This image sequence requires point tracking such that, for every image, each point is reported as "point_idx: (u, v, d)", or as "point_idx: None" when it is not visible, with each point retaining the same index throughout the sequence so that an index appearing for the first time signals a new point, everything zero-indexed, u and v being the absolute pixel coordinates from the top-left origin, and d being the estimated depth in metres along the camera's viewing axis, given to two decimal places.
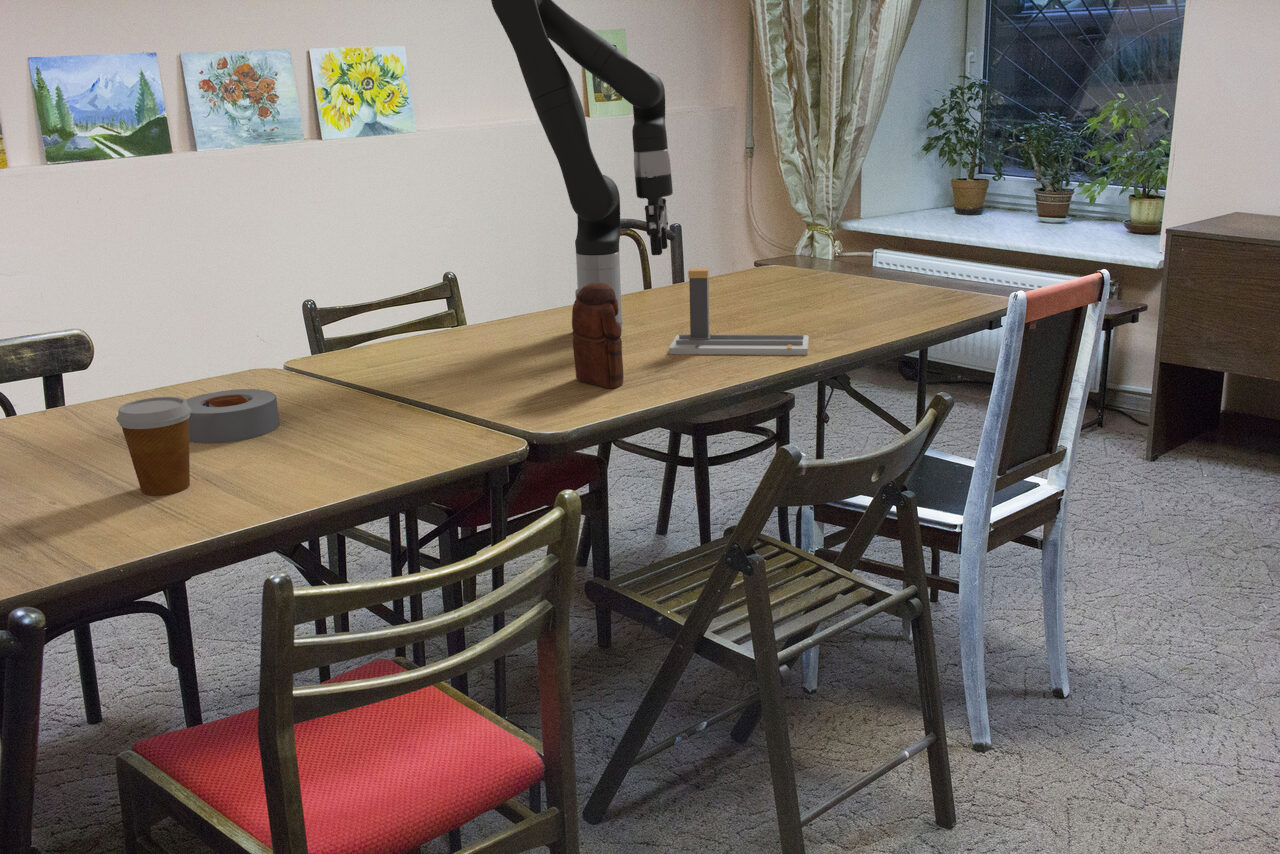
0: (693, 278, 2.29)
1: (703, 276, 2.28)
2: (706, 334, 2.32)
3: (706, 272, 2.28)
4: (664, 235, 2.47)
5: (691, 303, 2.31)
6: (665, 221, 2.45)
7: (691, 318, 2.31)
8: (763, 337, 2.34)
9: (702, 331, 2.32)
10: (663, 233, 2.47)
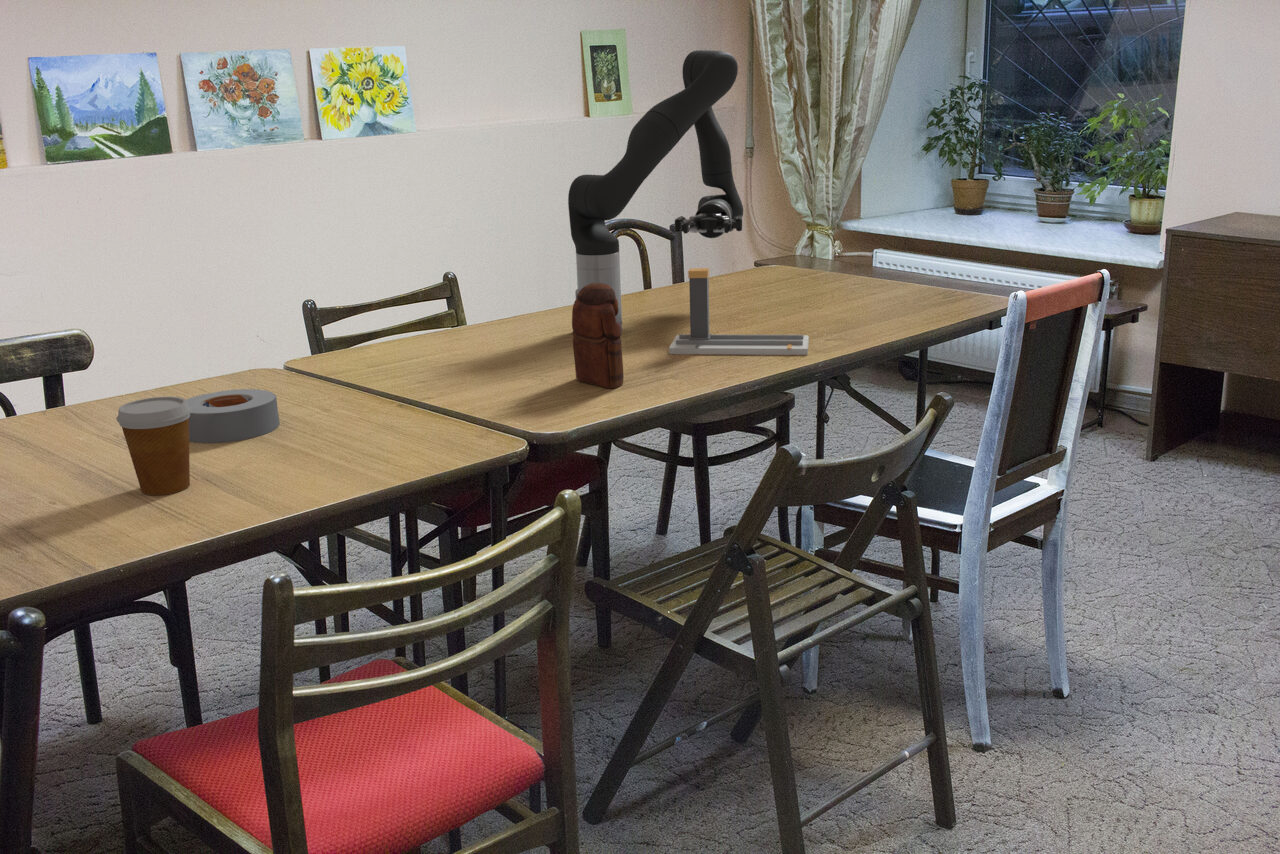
0: (693, 278, 2.29)
1: (703, 276, 2.28)
2: (706, 334, 2.32)
3: (706, 272, 2.28)
4: (688, 230, 2.45)
5: (691, 303, 2.31)
6: (695, 231, 2.48)
7: (691, 318, 2.31)
8: (763, 337, 2.34)
9: (702, 331, 2.32)
10: (688, 229, 2.45)
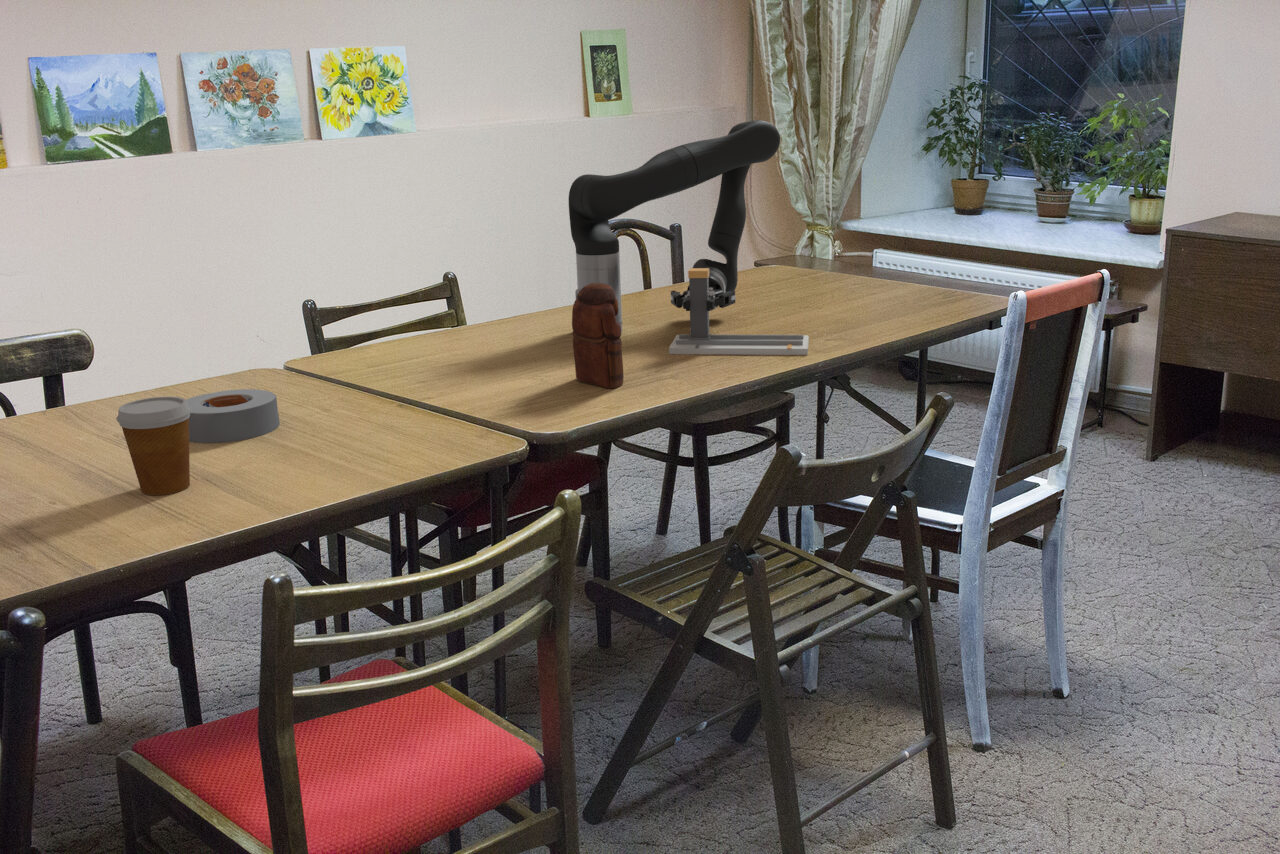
0: (693, 278, 2.29)
1: (703, 276, 2.28)
2: (706, 334, 2.32)
3: (706, 272, 2.28)
4: None
5: (691, 303, 2.31)
6: None
7: (691, 318, 2.31)
8: (763, 337, 2.34)
9: (702, 331, 2.32)
10: None
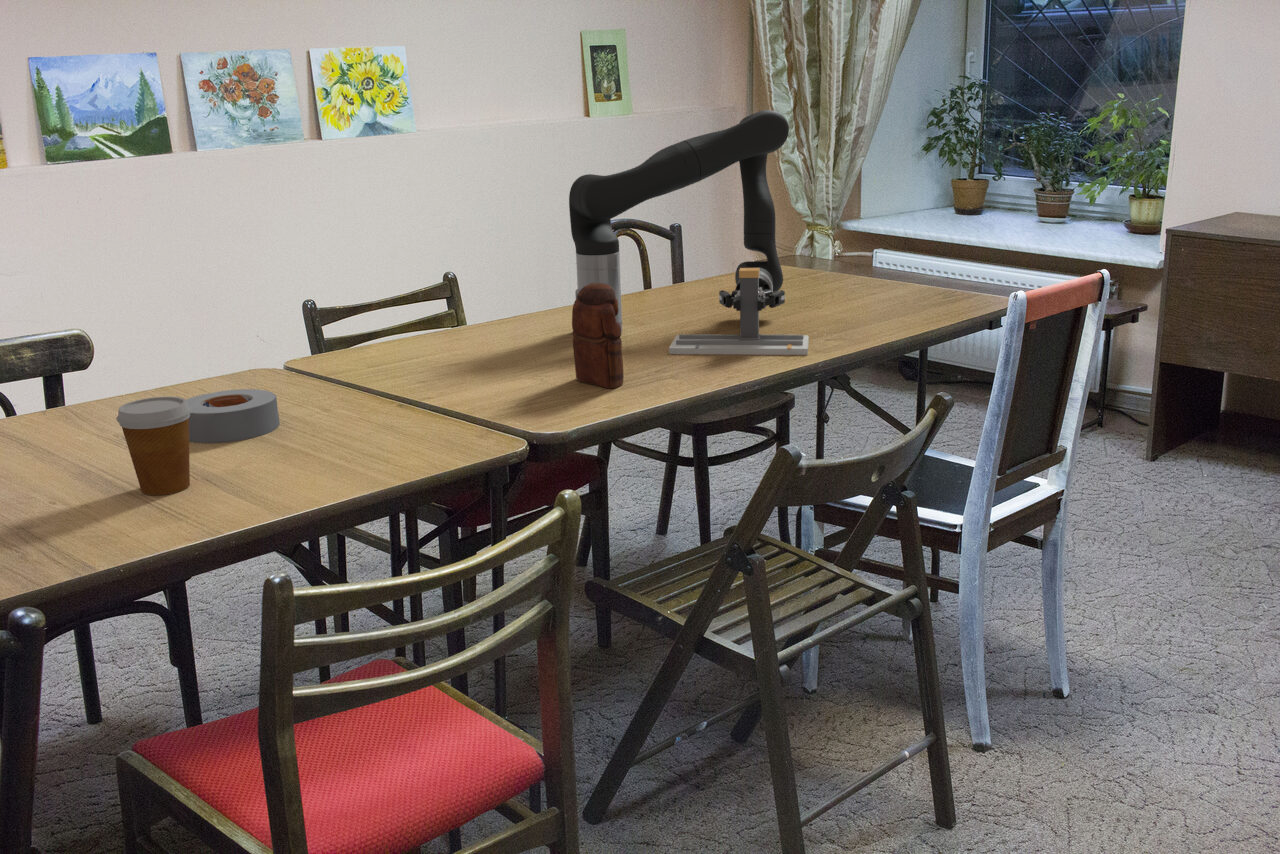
0: (743, 277, 2.27)
1: (754, 276, 2.27)
2: (756, 334, 2.30)
3: (757, 272, 2.27)
4: None
5: (741, 303, 2.29)
6: None
7: (741, 318, 2.30)
8: (763, 337, 2.34)
9: (752, 331, 2.30)
10: None
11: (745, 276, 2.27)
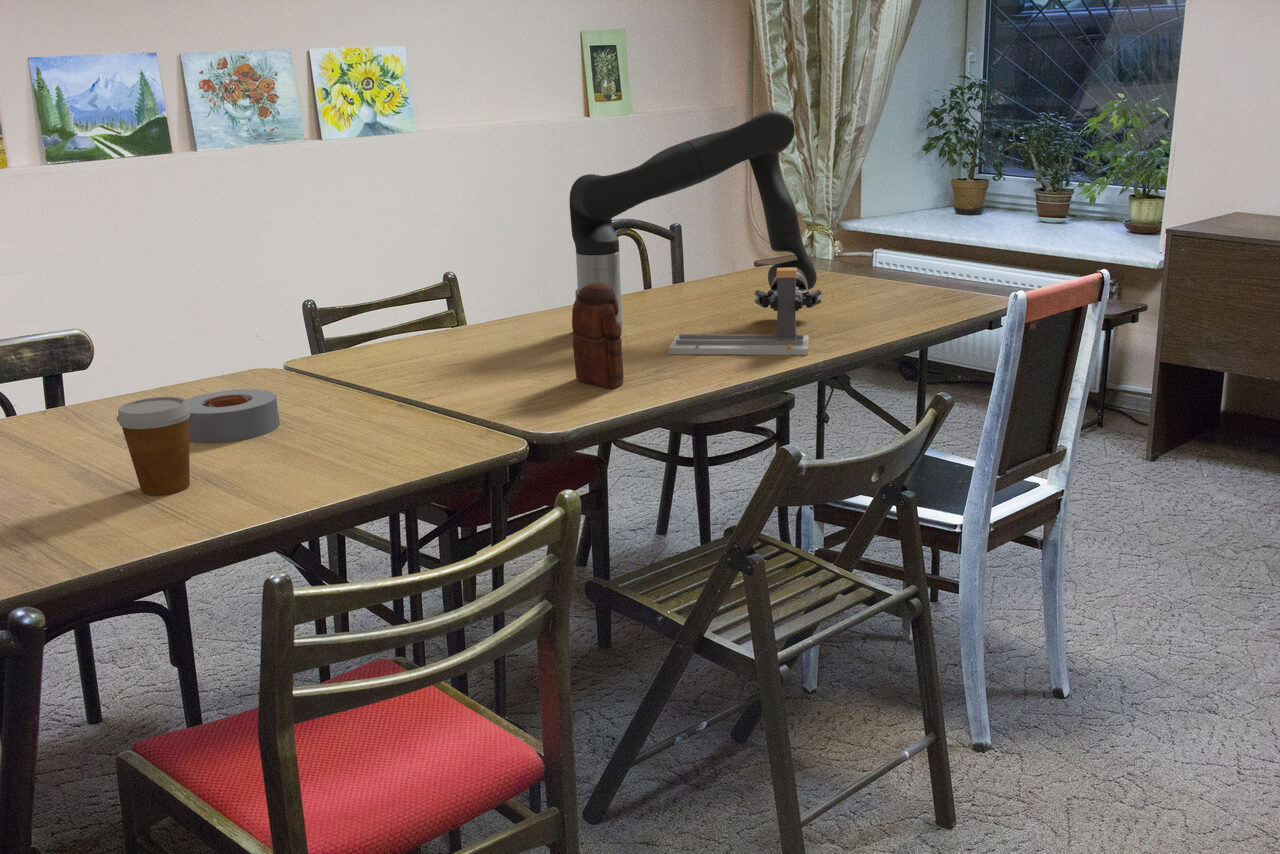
0: (781, 277, 2.26)
1: (792, 276, 2.26)
2: (793, 334, 2.29)
3: (795, 272, 2.25)
4: None
5: (779, 303, 2.28)
6: None
7: (778, 318, 2.29)
8: (763, 337, 2.34)
9: (789, 331, 2.29)
10: None
11: (783, 276, 2.26)
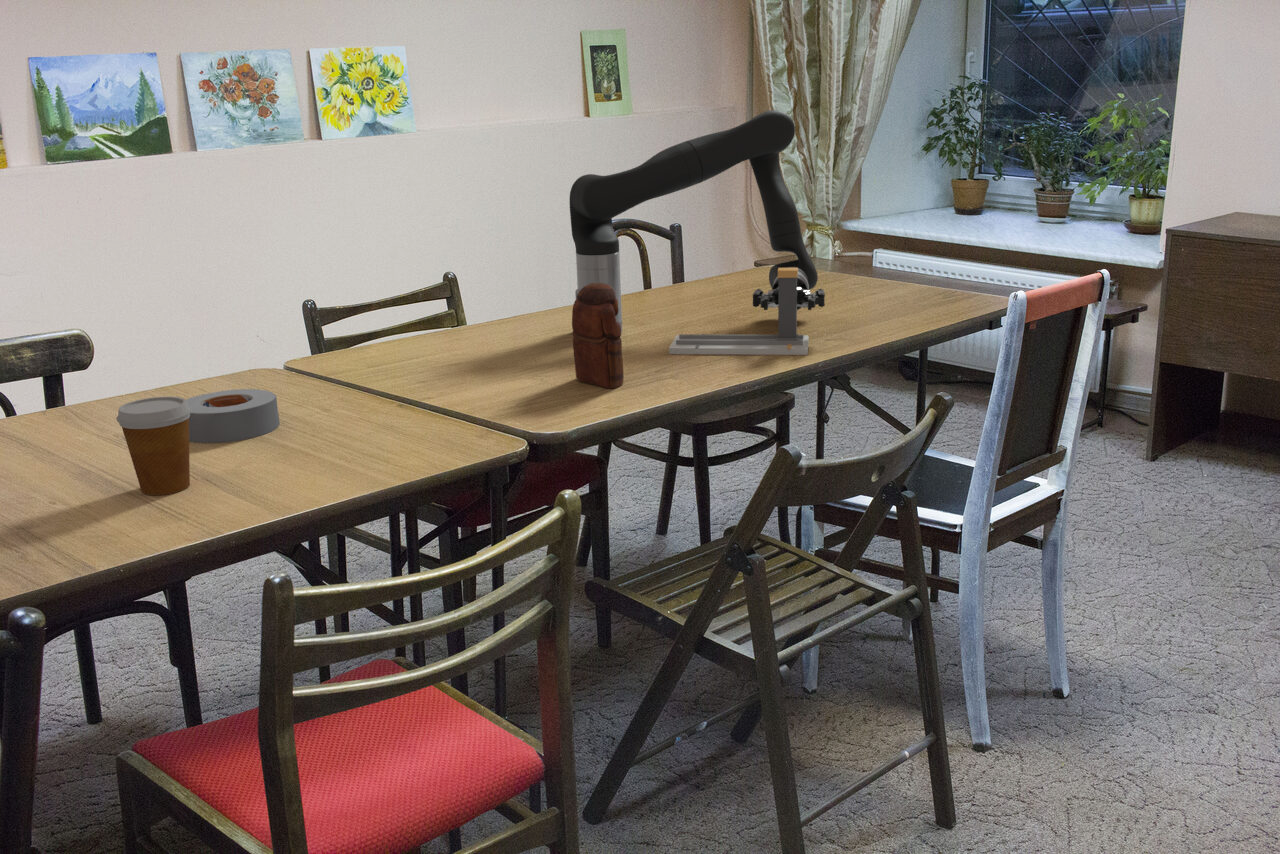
0: (782, 277, 2.26)
1: (793, 276, 2.26)
2: (794, 334, 2.29)
3: (796, 271, 2.25)
4: None
5: (780, 303, 2.28)
6: (774, 305, 2.34)
7: (779, 318, 2.29)
8: (763, 337, 2.34)
9: (790, 332, 2.29)
10: None
11: (784, 276, 2.26)
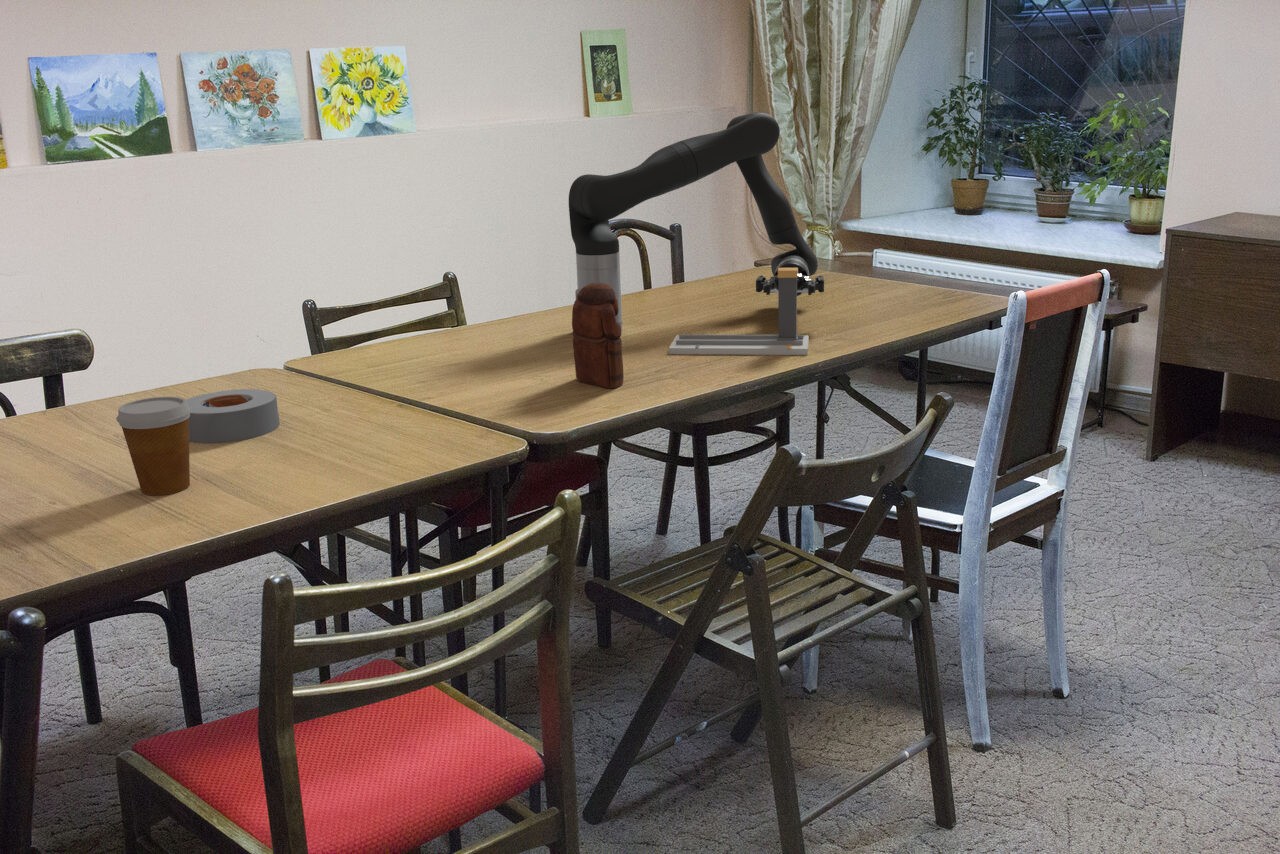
0: (782, 277, 2.26)
1: (793, 276, 2.26)
2: (794, 334, 2.29)
3: (796, 271, 2.25)
4: (770, 291, 2.43)
5: (780, 303, 2.28)
6: (776, 291, 2.46)
7: (779, 318, 2.29)
8: (763, 337, 2.34)
9: (790, 332, 2.29)
10: (770, 290, 2.43)
11: (784, 276, 2.26)
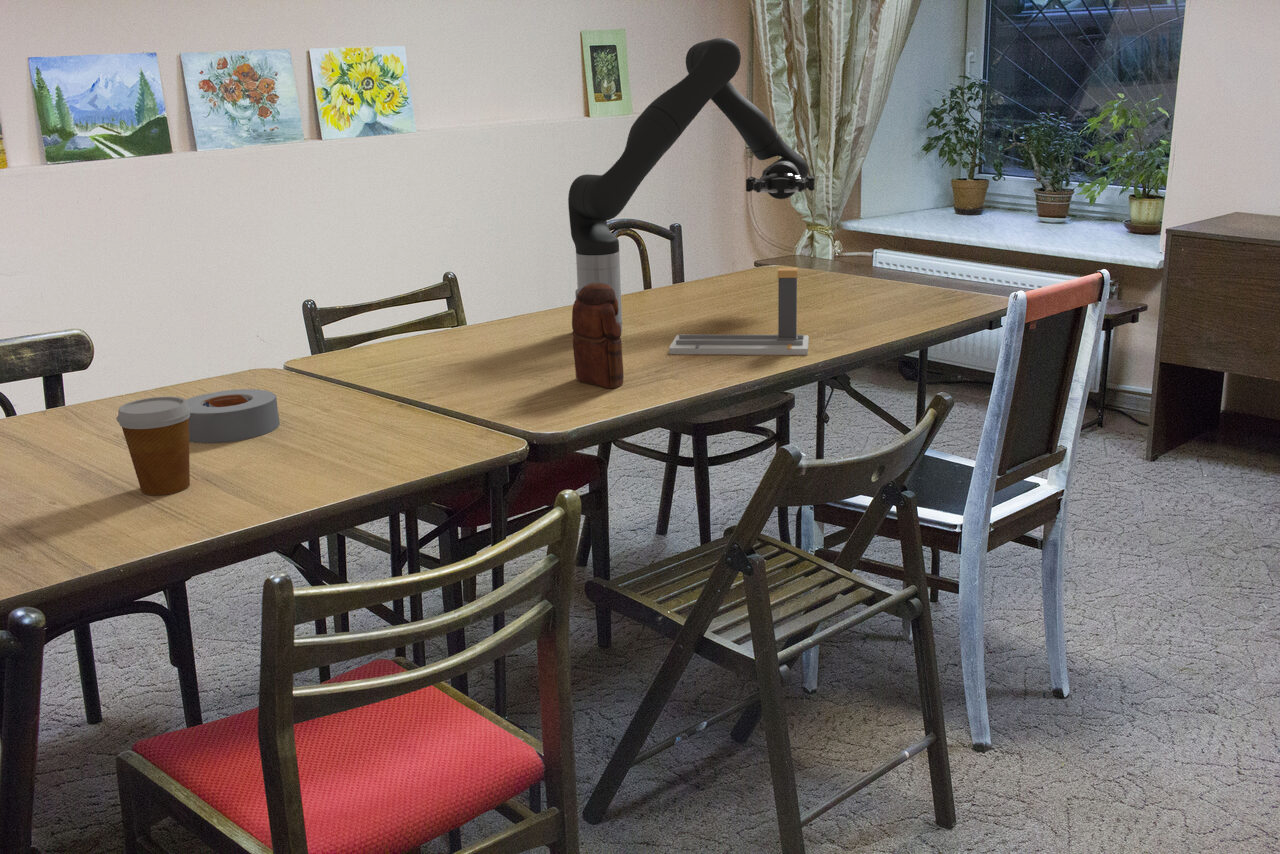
0: (782, 277, 2.26)
1: (793, 276, 2.26)
2: (794, 334, 2.29)
3: (796, 271, 2.25)
4: (760, 189, 2.42)
5: (780, 303, 2.28)
6: (766, 191, 2.45)
7: (779, 318, 2.29)
8: (763, 337, 2.34)
9: (790, 332, 2.29)
10: (760, 188, 2.43)
11: (784, 276, 2.26)
